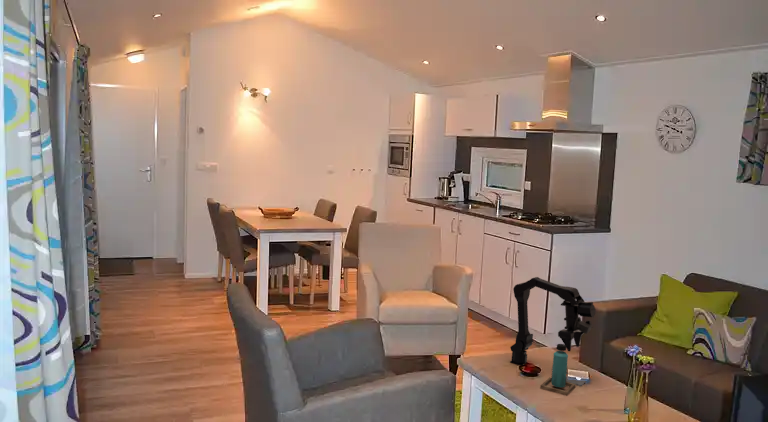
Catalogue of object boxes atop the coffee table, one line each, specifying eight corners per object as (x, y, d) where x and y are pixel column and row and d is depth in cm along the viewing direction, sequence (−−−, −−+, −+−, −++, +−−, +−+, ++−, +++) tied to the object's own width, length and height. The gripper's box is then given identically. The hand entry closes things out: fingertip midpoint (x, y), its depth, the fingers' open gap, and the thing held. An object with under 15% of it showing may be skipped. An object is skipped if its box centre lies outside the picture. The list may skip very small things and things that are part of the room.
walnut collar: (540, 388, 289) (540, 385, 289) (549, 380, 299) (549, 377, 299) (566, 395, 283) (567, 392, 283) (575, 387, 293) (575, 384, 293)
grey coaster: (559, 380, 300) (559, 379, 300) (566, 374, 308) (566, 373, 308) (581, 386, 294) (581, 385, 294) (587, 380, 303) (588, 378, 303)
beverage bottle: (567, 391, 288) (571, 347, 285) (552, 390, 288) (556, 346, 285) (563, 385, 294) (567, 342, 292) (548, 384, 294) (552, 341, 292)
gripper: (580, 320, 289) (581, 355, 289) (597, 313, 303) (598, 346, 304) (556, 318, 296) (558, 352, 297) (574, 311, 310) (575, 343, 311)
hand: (573, 348), depth 302 cm, fingers open, 9 cm apart
